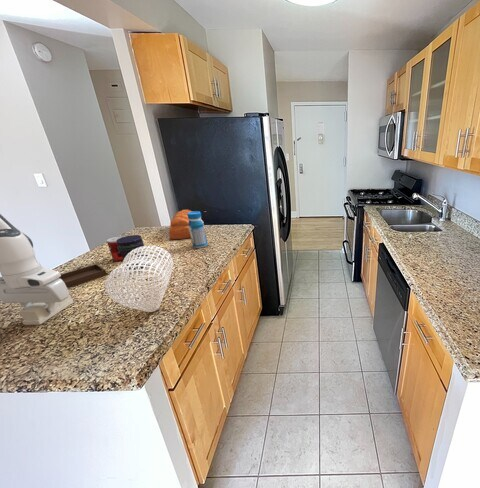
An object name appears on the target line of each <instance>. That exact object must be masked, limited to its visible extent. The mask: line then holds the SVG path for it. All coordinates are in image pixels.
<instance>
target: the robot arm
mask: <svg viewBox="0 0 480 488" xmlns="http://www.w3.org/2000/svg"><path fill="white" fill-rule="evenodd" d="M61 274H62V273H61V272H60V271H58V270H54V269H50V268H47V267H45V266H42V264H41V263H40V262H39V261H38V259H37V258H36V251H35V250H34V243H33V241H32V239H31V238H30V237H29V235H27V234H25V233H24V232H22V231H21V230H19V229H18V228H16V227H15V226H14V225H13V224H12V223H11V222H10V221H9V220H8V219H7V218H6V217H4V216H3V215H2V214H1V213H0V275H1V276H0V301H1V302H2V303H4V304H20V306H21V307H23V309H25V308H27V307H29V306H31V305H32V304H34V303H45V304H46V305H48V307H47V308H45V309H46V311H47V312H53V311H55V310H56V308H55V306H54V305H55V302H62V301H63V300H65V299H66V298H68V296H70V292H69V291H70V290H69V289H68V288H67V287H66V285H65V283H64V281H63V280H62V279H60V278H59V277H61Z"/></svg>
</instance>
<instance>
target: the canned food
mask: <svg viewBox="0 0 480 488" xmlns="http://www.w3.org/2000/svg"><path fill="white" fill-rule="evenodd" d="M122 237H124V236H122V235H121V236H114V237H110V238H108V239H106V244H107V247H108V249H109V252H110V255H111V258H112V259H113V261H114V262H123V258H122V254H121V253H120V251H119V248H118V244H117V241H116V240H117V239H119V238H122Z"/></svg>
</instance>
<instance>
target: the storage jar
mask: <svg viewBox="0 0 480 488" xmlns="http://www.w3.org/2000/svg"><path fill="white" fill-rule="evenodd" d="M142 237H143V236H142V235H140V234H132V235H127V236H126V235H125V236H123V237H122V238H119V239H117V240H116V241H117V244H118V248H119V251H120V253H121V254H122V258H123V260H124V258H125V257H126V255H127V254H128V253H129V252H131V251H132V250H134V249H136V248H139V247H142V246H145V243H144V240H143V238H142ZM144 250H146V249H144ZM137 251H138V250H137ZM141 251H142V250H141ZM135 252H136V251H135ZM144 252H145V251H144ZM132 253H134V252H132ZM139 253H141V252H139ZM139 253H138V254H139ZM142 253H143V252H142ZM135 255H137V253H135ZM132 256H133V255H132ZM132 256H131V257H132ZM142 256H144V255H141V257H142ZM145 256H148V255H145ZM137 257H140V255H139V256H137ZM135 258H136V257H135ZM130 259H131V258H130ZM137 259H139V258H137ZM144 259H146V258H144ZM133 260H135V259H133ZM128 261H129V260H128ZM129 262H130V261H129ZM124 263H125V262H124ZM135 263H136V262H135ZM143 263H145V262H143ZM148 264H150V263H148ZM132 265H134V264H132ZM132 265H131V266H132ZM136 265H139V264H136ZM142 265H143V264H142ZM144 265H145V264H144ZM127 266H129V264H128V265H127ZM146 266H147V264H146ZM148 266H150V265H148ZM132 268H133V267H132ZM136 268H137V269H138V267H136ZM143 268H144V267H141V269H143ZM145 268H146V267H145ZM125 269H126V268H125ZM130 269H131V267H129V270H130ZM146 269H147V268H146ZM133 270H136V269H135V268H134V269H133ZM139 270H140V268H139ZM126 271H127V269H126Z"/></svg>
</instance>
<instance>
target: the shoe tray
mask: <svg viewBox="0 0 480 488" xmlns="http://www.w3.org/2000/svg"><path fill="white" fill-rule="evenodd" d="M60 274H61V277H59V278H60V279H62V280H63V281H64V283H65V285H66V287H67V289H68V288H72V287H75V286H77V285H80V284H83V283H86V282H89V281H92V280H95V279H98V278H101V277H104V276H108V273H107V270H106V269H105V268H104V267H102V266H101V265H99V264H98V263H94V264H91V265H87V266H83V267H82V268H78V269H77V268H76V269H73V270H70V271H68V272H64V273H60Z"/></svg>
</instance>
